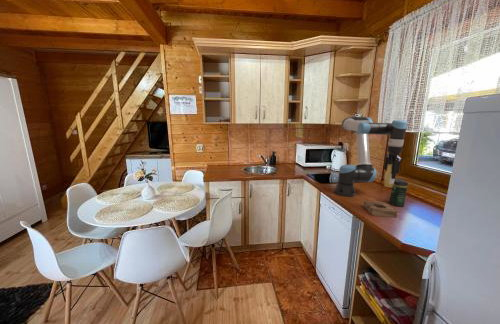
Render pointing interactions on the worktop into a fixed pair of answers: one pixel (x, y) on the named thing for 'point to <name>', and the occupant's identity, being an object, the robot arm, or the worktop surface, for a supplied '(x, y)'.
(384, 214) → the socket block
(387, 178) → the peg
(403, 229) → the worktop surface
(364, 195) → the worktop surface
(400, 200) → the coffee jar
